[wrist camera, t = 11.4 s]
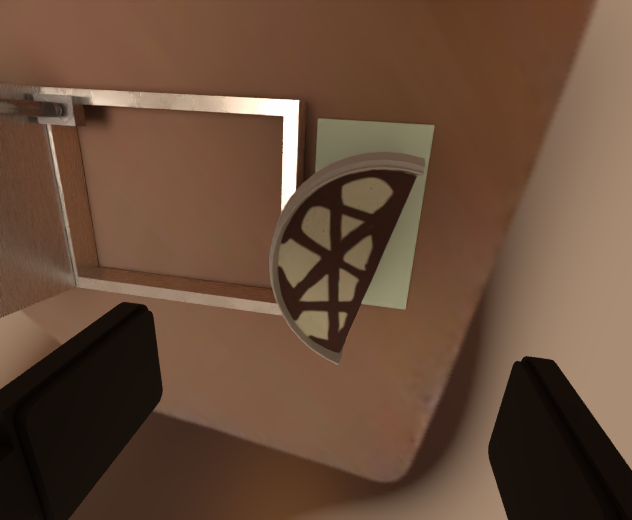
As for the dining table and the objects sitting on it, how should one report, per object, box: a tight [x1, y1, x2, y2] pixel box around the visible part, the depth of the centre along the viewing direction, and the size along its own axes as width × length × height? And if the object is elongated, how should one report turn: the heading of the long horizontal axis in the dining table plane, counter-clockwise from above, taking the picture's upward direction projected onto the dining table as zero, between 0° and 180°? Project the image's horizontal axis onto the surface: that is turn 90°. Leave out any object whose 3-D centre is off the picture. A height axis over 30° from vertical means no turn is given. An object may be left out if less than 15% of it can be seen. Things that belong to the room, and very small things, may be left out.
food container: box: [269, 152, 425, 365], centre depth 23 cm, size 12×6×10 cm, turn 161°
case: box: [0, 83, 307, 318], centre depth 23 cm, size 16×23×16 cm
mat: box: [315, 118, 435, 309], centre depth 28 cm, size 14×8×1 cm, turn 176°
